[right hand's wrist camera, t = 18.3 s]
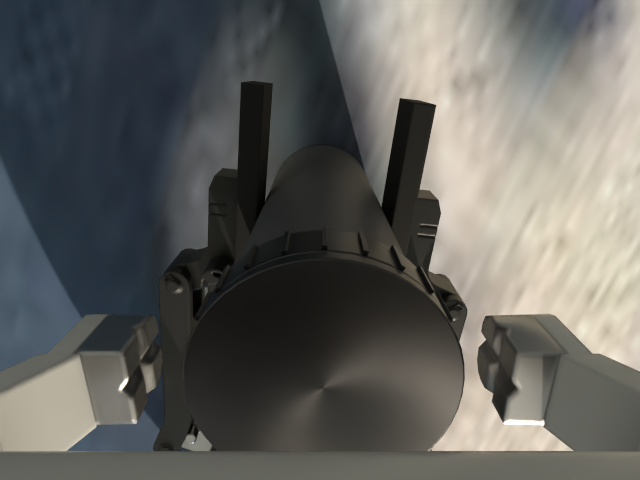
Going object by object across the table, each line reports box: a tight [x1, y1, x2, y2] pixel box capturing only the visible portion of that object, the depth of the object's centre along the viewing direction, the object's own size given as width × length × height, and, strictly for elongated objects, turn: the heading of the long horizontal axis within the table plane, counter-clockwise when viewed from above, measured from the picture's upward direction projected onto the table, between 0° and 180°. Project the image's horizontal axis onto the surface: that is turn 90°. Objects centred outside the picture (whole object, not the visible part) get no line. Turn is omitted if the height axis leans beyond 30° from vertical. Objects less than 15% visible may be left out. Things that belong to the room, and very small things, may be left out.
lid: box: [183, 227, 464, 451], centre depth 9 cm, size 6×6×2 cm
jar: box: [240, 145, 404, 258], centre depth 16 cm, size 5×5×15 cm
